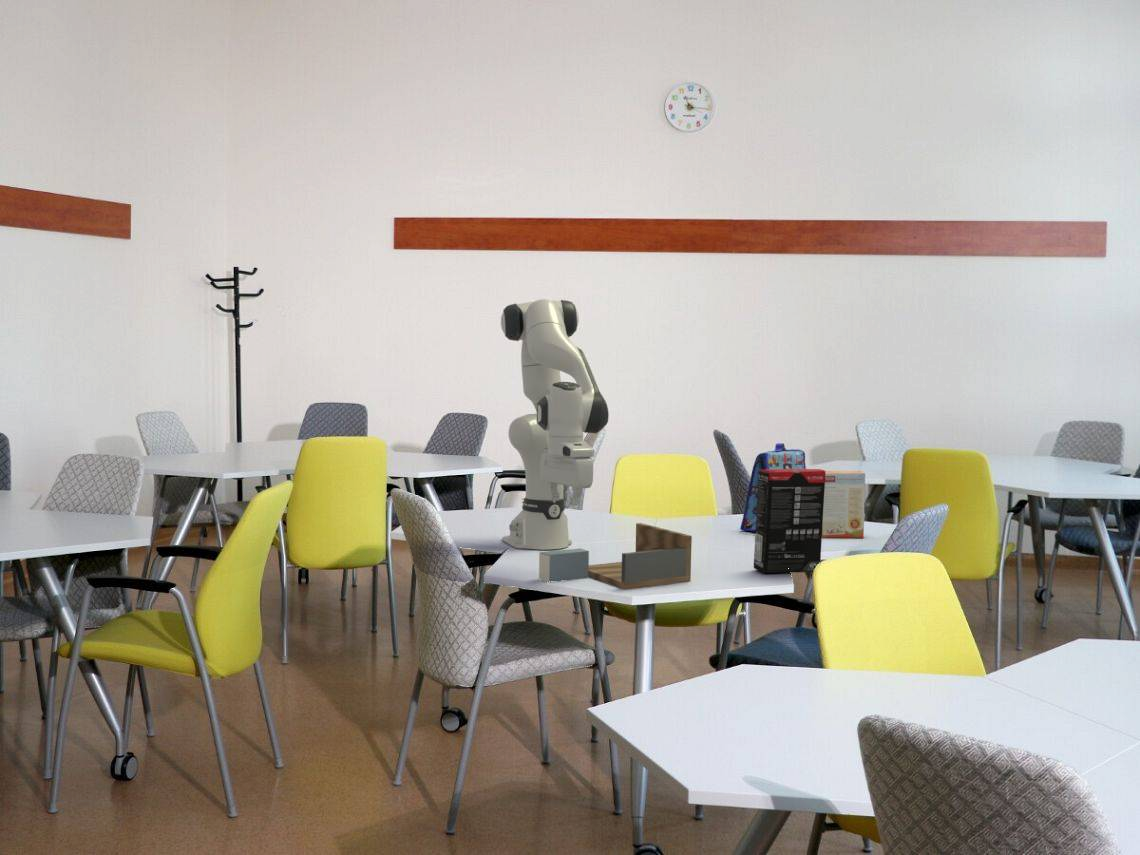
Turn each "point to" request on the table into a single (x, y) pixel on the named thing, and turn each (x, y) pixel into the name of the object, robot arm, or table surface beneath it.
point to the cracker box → (844, 504)
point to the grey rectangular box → (563, 565)
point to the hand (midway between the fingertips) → (564, 502)
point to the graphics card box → (789, 520)
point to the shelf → (646, 541)
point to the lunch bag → (768, 461)
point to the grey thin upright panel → (653, 564)
